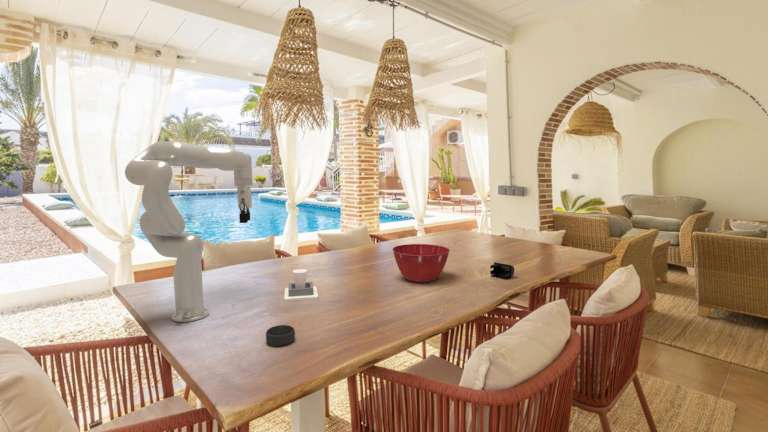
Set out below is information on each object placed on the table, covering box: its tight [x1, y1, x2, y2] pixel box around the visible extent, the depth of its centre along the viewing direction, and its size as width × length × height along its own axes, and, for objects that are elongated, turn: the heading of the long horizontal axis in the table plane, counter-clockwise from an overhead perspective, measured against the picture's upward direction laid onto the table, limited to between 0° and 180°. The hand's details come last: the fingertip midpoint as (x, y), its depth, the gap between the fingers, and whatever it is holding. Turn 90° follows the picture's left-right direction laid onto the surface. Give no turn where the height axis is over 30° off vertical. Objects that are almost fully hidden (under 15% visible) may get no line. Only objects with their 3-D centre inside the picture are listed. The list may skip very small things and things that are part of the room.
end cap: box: [489, 262, 515, 281], centre depth 204 cm, size 10×7×7 cm
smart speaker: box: [265, 324, 296, 347], centre depth 129 cm, size 9×9×4 cm
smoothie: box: [292, 260, 308, 289], centre depth 177 cm, size 6×6×14 cm
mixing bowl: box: [392, 243, 451, 284], centre depth 201 cm, size 28×28×15 cm
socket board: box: [283, 281, 319, 302], centre depth 178 cm, size 16×14×4 cm
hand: (245, 221), depth 177 cm, fingers open, 9 cm apart
